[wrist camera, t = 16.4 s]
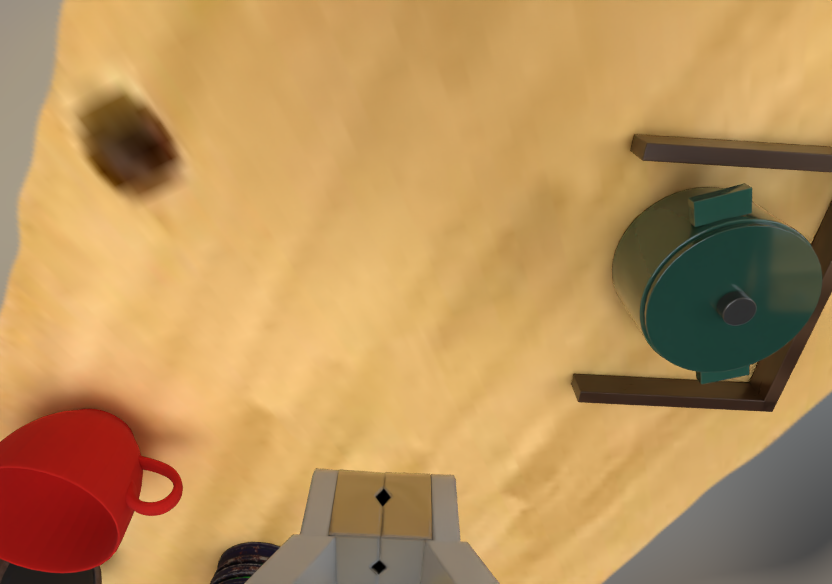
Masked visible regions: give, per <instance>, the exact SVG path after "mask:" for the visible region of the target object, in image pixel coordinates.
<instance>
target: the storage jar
mask: <svg viewBox="0 0 832 584" xmlns="http://www.w3.org/2000/svg"><path fill="white" fill-rule="evenodd" d="M279 548H280V547H279V546H276V545H273V544H268V543H261V542H250V543H243V544H239V545H236V546H233V547H231V548H229V549H228V550H227V551H225V552H224V553H223V555H222V556H221V558H220V560H219V563H218V567H217V570H216V572H215V574H214V577H213V578H212V580H211V583H210V584H244V583H245V582H246V581H247V580H248V579H249V578H250V577H251V576H252V575H253V574H254V573H255V572H256V571H257V570H258V569H259V568H260V567H261V566H262V565H263V564H264V563H265V562H266V561H267V560H268V559H269V558H270V557H271V556H272V555H273V554H274V553H275V552H276V551H277V550H278V549H279Z"/></svg>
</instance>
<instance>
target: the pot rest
mask: <svg viewBox="0 0 832 584" xmlns="http://www.w3.org/2000/svg"><path fill="white" fill-rule="evenodd" d="M631 152H633V153H634V154H635V155H636V156H638V157H639V158H640V159H641V160H643V161H658V162H674V163H690V164H706V165H722V166H738V167H754V168H770V169H786V170H803V171H819V172H832V147H826V146H810V145H795V144H779V143H763V142H748V141H732V140H716V139H701V138H685V137H669V136H653V135H638V134H635V135H634V138H633V142H632V146H631ZM812 248H813V249H814V251H815V253H816V255H817V257H818V259H819V262H820V265H821V270H822V289H821V294H820V298H819V301H818V304H817V306H816V308H815V310H814V312H813V314H812V316H811V317H810V319H809V320H808V322H807V323H806V324H805V326H804V327H803V328H802V330H801V331H800V332H799V333H798V334H797V335H796V336H795V337H794V338H793V339H792V340H791V341H789V342H788V343H787V344H786V345H785V346H783V347H782V348H781V349H779V350H778V351H776V352H775V353H773V354H772V355H770V356H768V357H766V358H765V359H762V360H760V361H759V363H758V365H757V367H756V369H755V371H754V374H753V376H752V378H751V380H750V382H749V383H741V382H722V381H717V382H712V383H707V384H700V382H699V381H698V380H682V379H663V378H643V377H623V376H604V375H584V374H574V375H573V379H572V383H571V385H572V388H573V390H574V393H575V395H576V398H577V401H578V402H585V403H605V404H625V405H645V406H666V407H686V408H706V409H726V410H747V411H766V412H772V411H773V409H774V407H775V405H776V403H777V401H778V399H779V397H780V395H781V393H782V391H783V389H784V387H785V385H786V383H787V381H788V379H789V377H790V375H791V373H792V371H793V369H794V367H795V365H796V363H797V361H798V359H799V357H800V355H801V353H802V351H803V349H804V347H805V345H806V343H807V341H808V339H809V337H810V335H811V333H812V331H813V329H814V327H815V325H816V323H817V321H818V319H819V317H820V315H821V312H822V310H823V308H824V306H825V304H826V302H827V300H828V298H829V296H830V294H831V292H832V202H831V204H830V206H829V208H828V210H827V213H826V215H825V217H824V219H823V221H822V224H821V226H820V228H819V230H818V232H817V235H816V237H815V239H814V241H813V243H812Z"/></svg>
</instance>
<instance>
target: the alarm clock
mask: <svg viewBox="0 0 832 584" xmlns="http://www.w3.org/2000/svg"><path fill="white" fill-rule="evenodd" d="M0 584H102V578H101V568H100V566H97V567H94V568H92V569H89V570H85V571H80V572H73V573H51V572H43V571H37V570H32V569H28V568H25V567H21V566H17V565H15V564H12V563H10V562H7V561H5V560H2V559H0Z"/></svg>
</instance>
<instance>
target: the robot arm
mask: <svg viewBox="0 0 832 584" xmlns="http://www.w3.org/2000/svg"><path fill="white" fill-rule="evenodd" d="M244 584H499V582H498V581H497V580H496V578H495V577H494V576H493V574H492V573H491V572H490V571H489V569H488V568H487V567H486V565H485V564H484V563H483V562H482V560H481V559H480V558H479V556H478V555H477V554H476V552H475V551H474V550H473V549H472V547H471V546H470V545H469V543H468V542H460V529H459V517H458V504H457V492H456V479H455V477H454V475H439V474H431V475H430V474H419V473H390V472H385V473H379V472H365V471H351V470H333V469H318V468H316V469H315V471H314V473H313V476H312V480H311V485H310V490H309V494H308V499H307V504H306V508H305V513H304V518H303V522H302V527H301V532H300V535H298V534H293V535H292V536H291V537H290V538H289V539H288V540H287V541H286V542H285V543H284V544H283V545H282V546H281V547H280V548H279V549H278V550H277V551H276V552H275V553H274V554H273V555H272V556H271V557H270V558H269V559H268V560H267V561H266V562H265V563H264V564H263V565H262V566H261V567H260V568H259V569H258V570H257V571H256V572H255V573H254V574H253V575H252V576H251V577H250V578H249V579H248V580H247V581H246V582H245V583H244Z"/></svg>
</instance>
